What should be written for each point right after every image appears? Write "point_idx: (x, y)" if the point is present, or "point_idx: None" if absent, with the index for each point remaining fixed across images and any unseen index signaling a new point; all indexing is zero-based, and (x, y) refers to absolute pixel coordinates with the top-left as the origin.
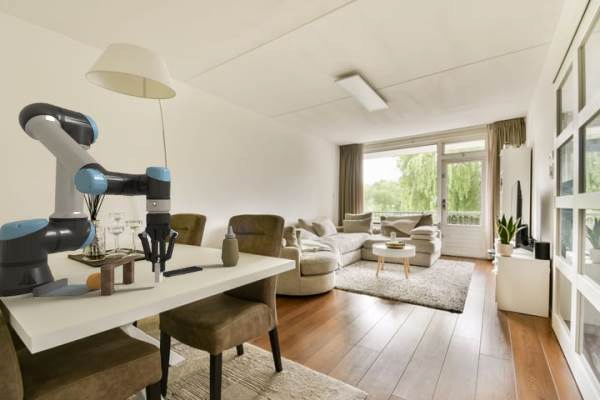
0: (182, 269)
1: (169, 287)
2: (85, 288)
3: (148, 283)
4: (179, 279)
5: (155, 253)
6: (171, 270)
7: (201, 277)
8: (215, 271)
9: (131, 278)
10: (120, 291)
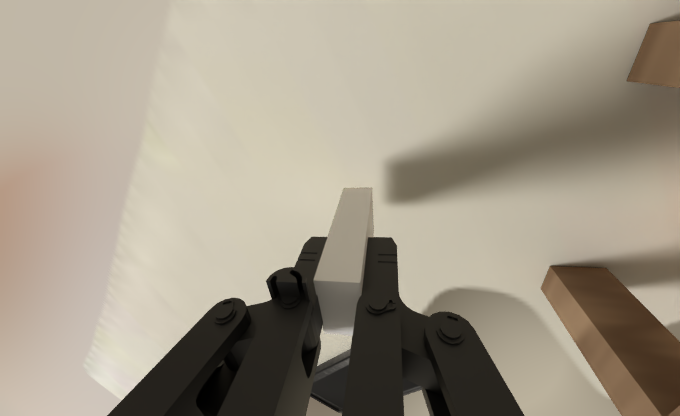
0: None
1: (300, 182)
2: None
3: (450, 260)
4: None
5: (344, 414)
6: (410, 391)
7: None
8: None
9: (568, 289)
10: (585, 125)
